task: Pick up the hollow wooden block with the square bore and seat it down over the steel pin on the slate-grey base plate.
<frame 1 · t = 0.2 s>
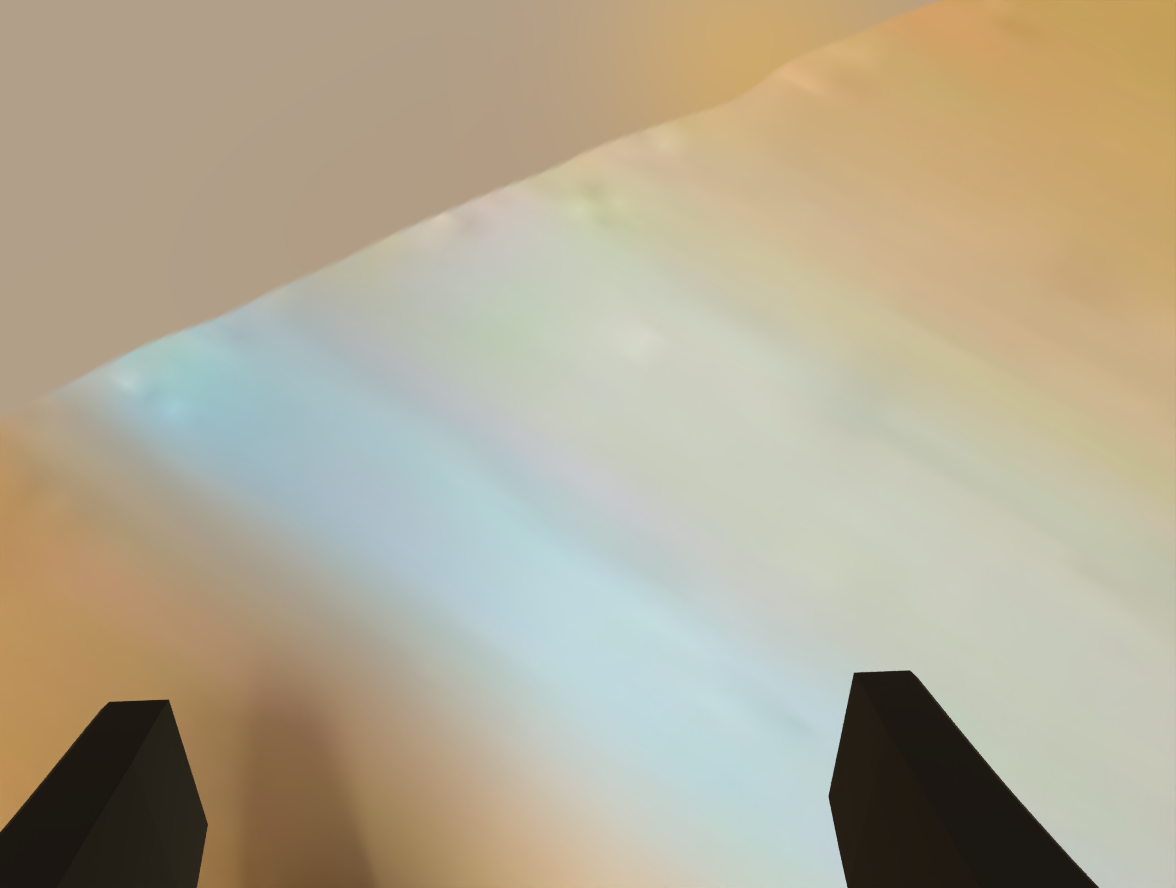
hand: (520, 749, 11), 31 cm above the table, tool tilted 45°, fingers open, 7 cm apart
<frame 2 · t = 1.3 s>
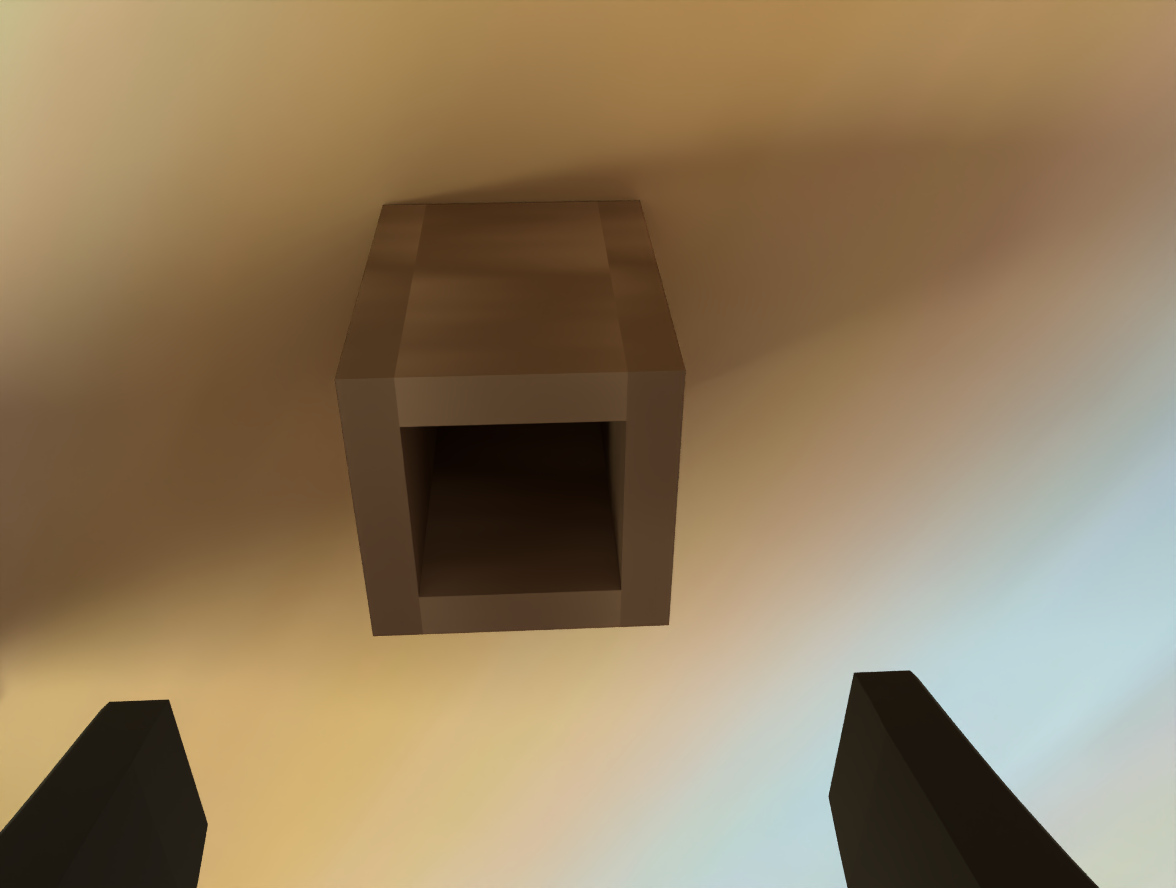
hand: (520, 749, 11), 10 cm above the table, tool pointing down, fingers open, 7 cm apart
hollow wooden block: (516, 317, 20), on the table
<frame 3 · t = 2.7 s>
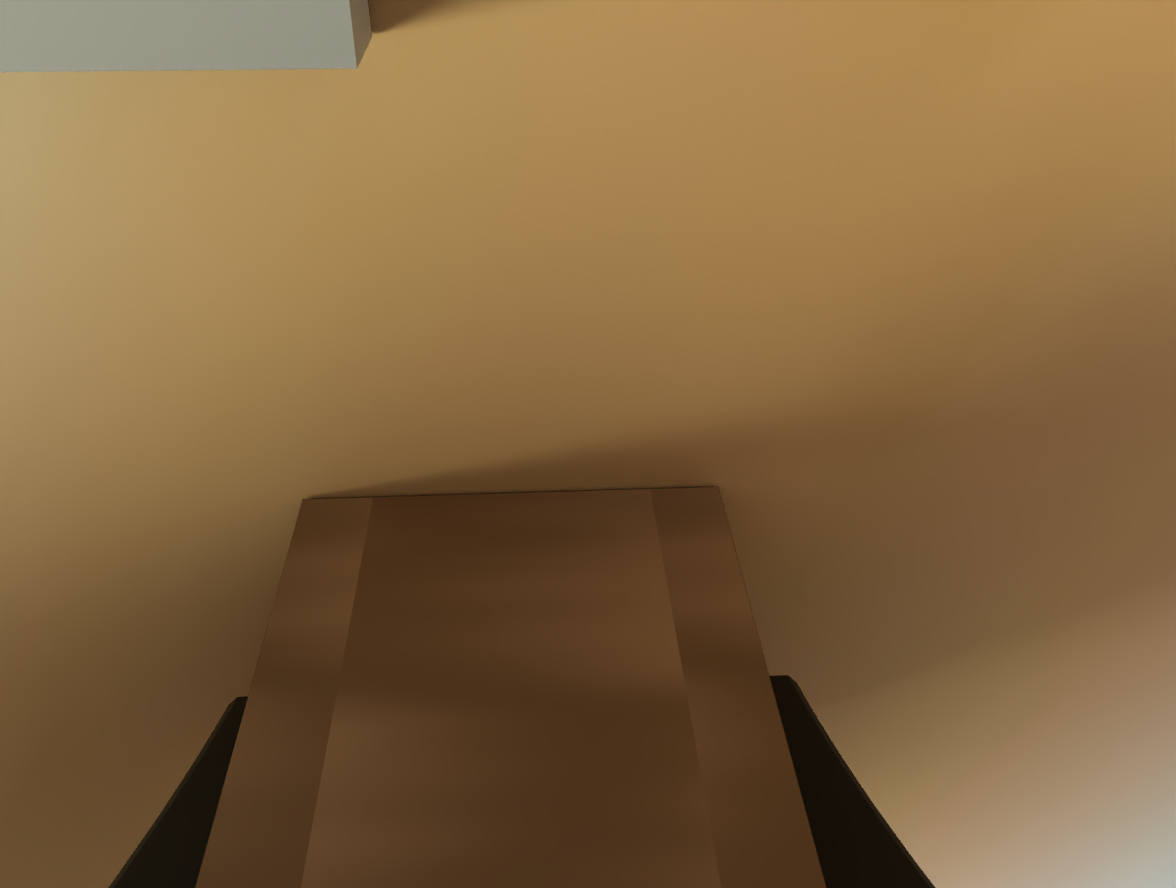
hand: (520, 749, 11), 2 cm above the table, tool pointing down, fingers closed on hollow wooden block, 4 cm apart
hollow wooden block: (519, 643, 13), on the table, touching gripper
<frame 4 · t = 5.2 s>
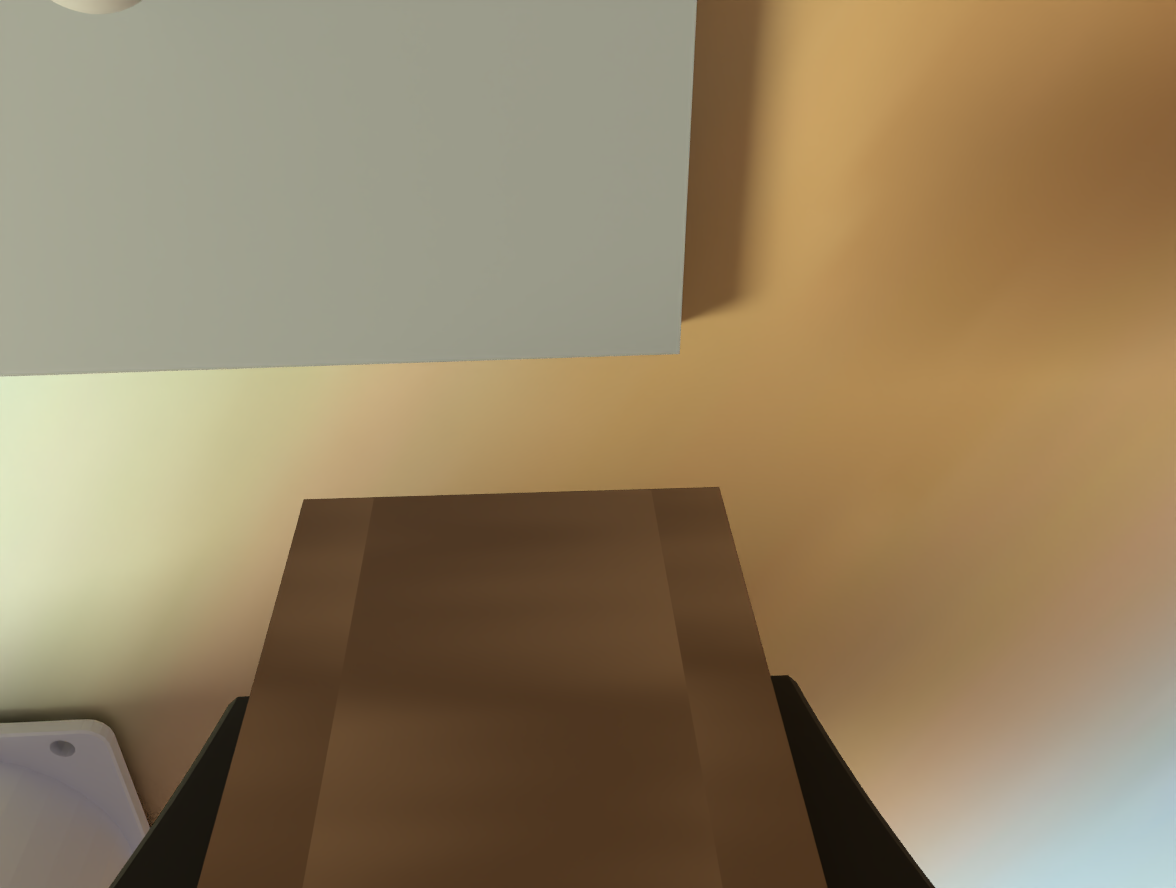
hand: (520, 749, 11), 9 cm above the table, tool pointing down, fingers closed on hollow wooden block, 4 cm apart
hollow wooden block: (519, 643, 13), point 7 cm above the table, touching gripper
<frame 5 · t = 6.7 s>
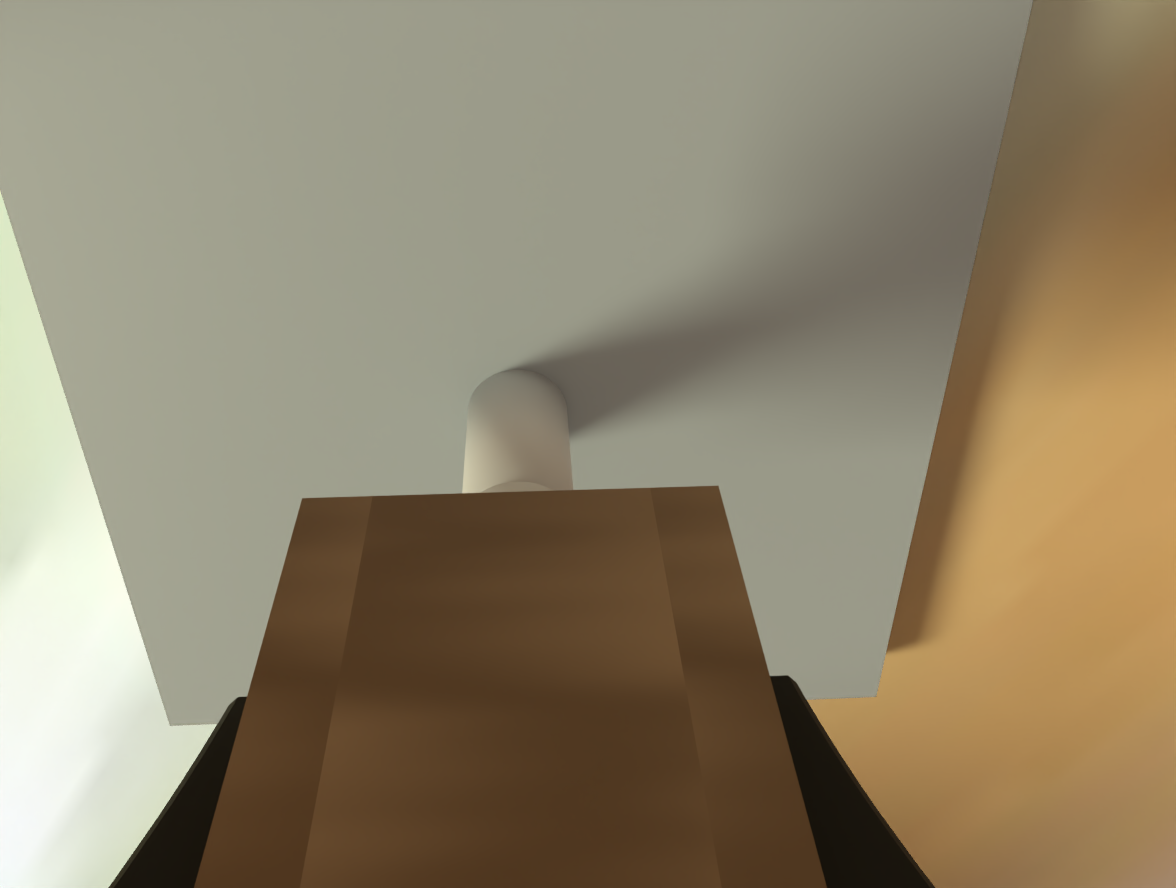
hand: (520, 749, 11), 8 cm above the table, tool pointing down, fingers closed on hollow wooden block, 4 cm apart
pin base: (517, 381, 18), on the table
hollow wooden block: (518, 642, 13), point 6 cm above the table, touching gripper
when the fingers open (4 cm above the table, at t = 8.0 s): hollow wooden block drops 1 cm, resting on pin base.
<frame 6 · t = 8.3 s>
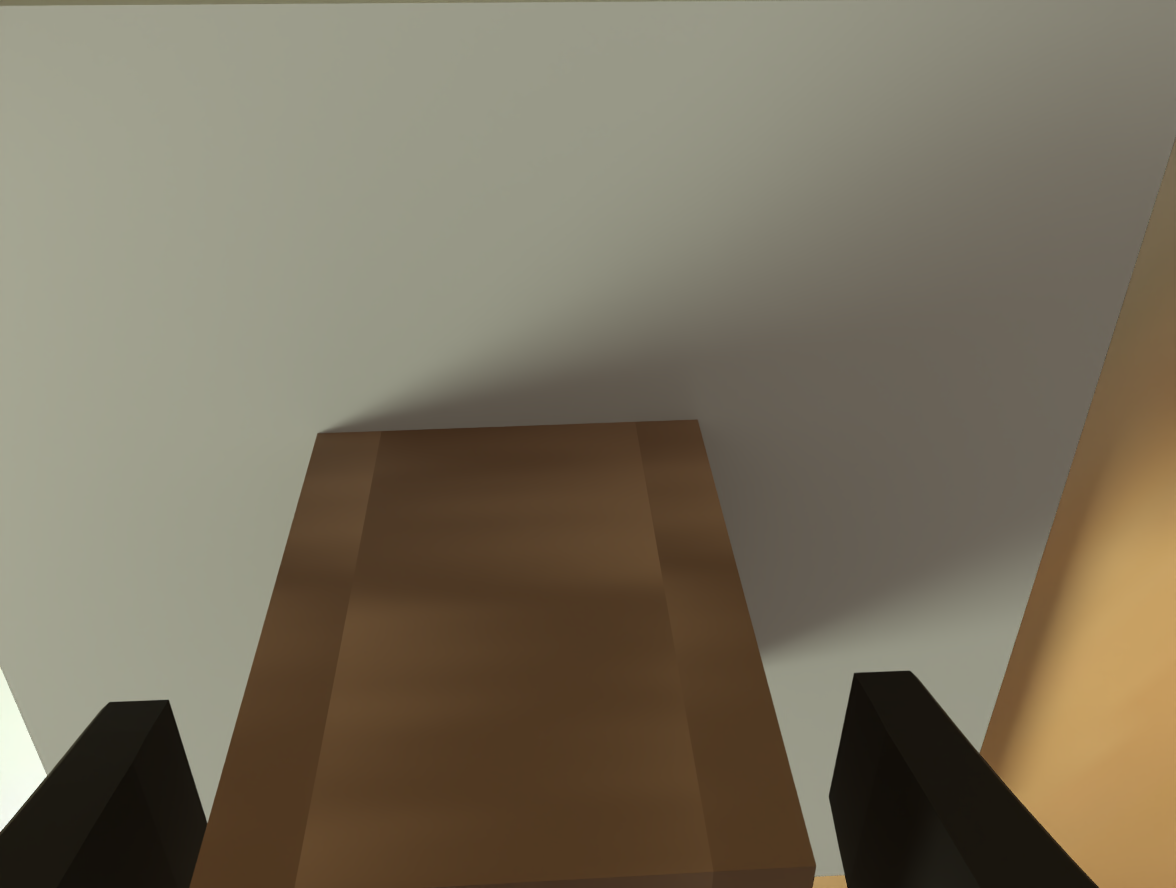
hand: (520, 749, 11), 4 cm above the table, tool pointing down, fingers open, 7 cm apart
pin base: (518, 524, 15), on the table
hollow wooden block: (517, 570, 14), point 1 cm above the table, touching pin base
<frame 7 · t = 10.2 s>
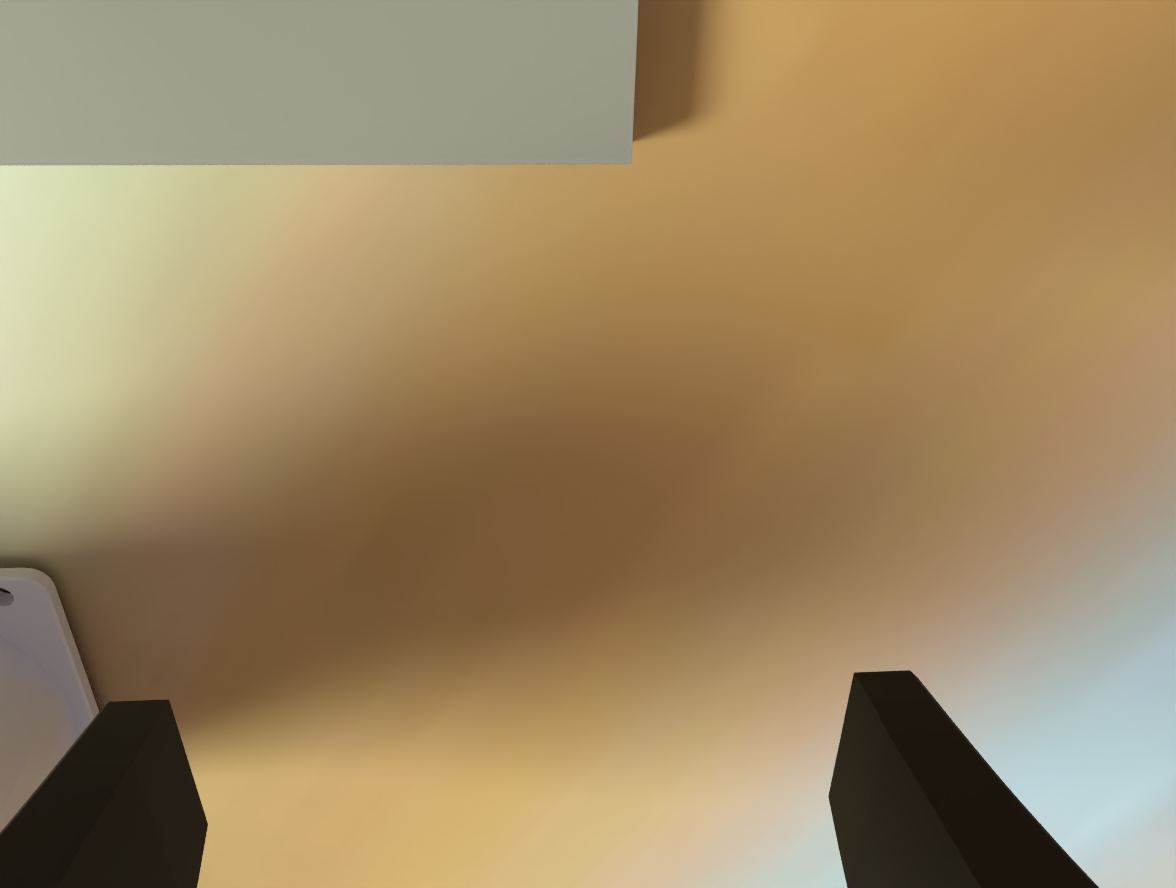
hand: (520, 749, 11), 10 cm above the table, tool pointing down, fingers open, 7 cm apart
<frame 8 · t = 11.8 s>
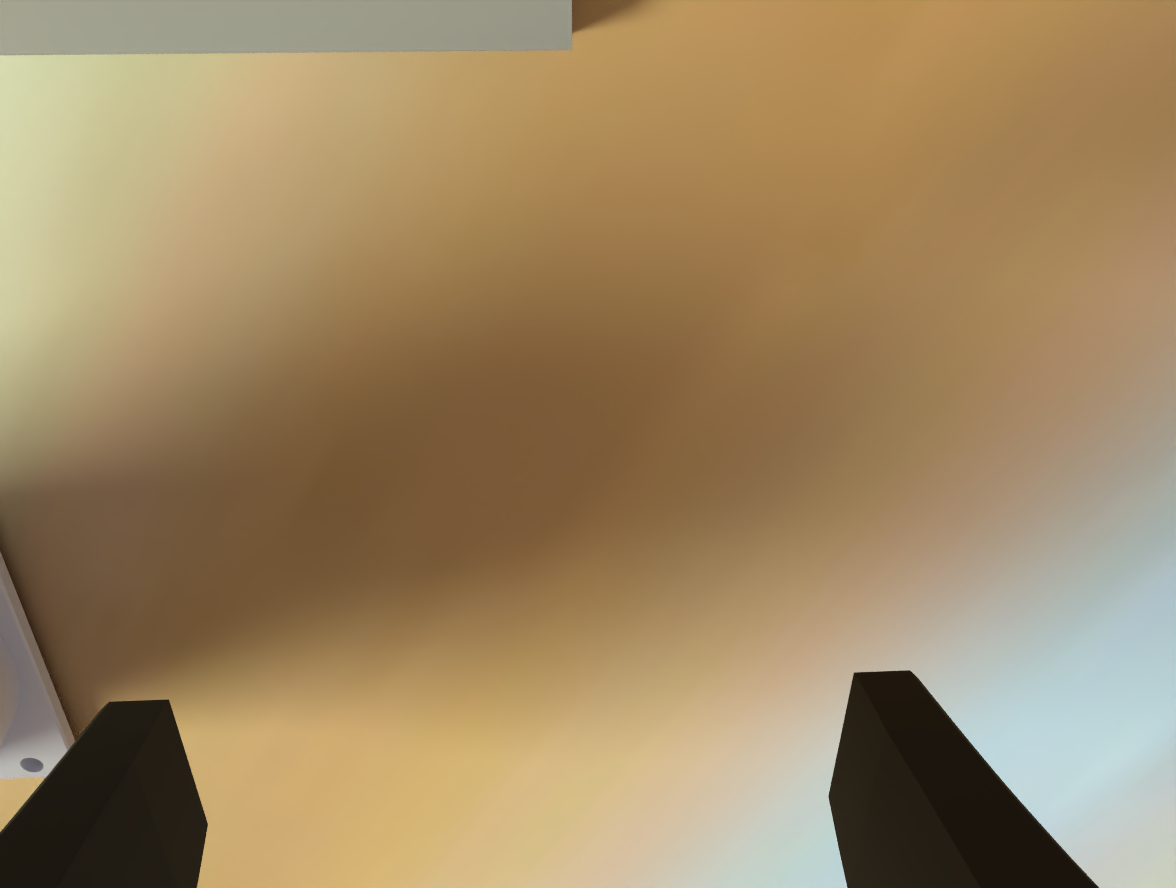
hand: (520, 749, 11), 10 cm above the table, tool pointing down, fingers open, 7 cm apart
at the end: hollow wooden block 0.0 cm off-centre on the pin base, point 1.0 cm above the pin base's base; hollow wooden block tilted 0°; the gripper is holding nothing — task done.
